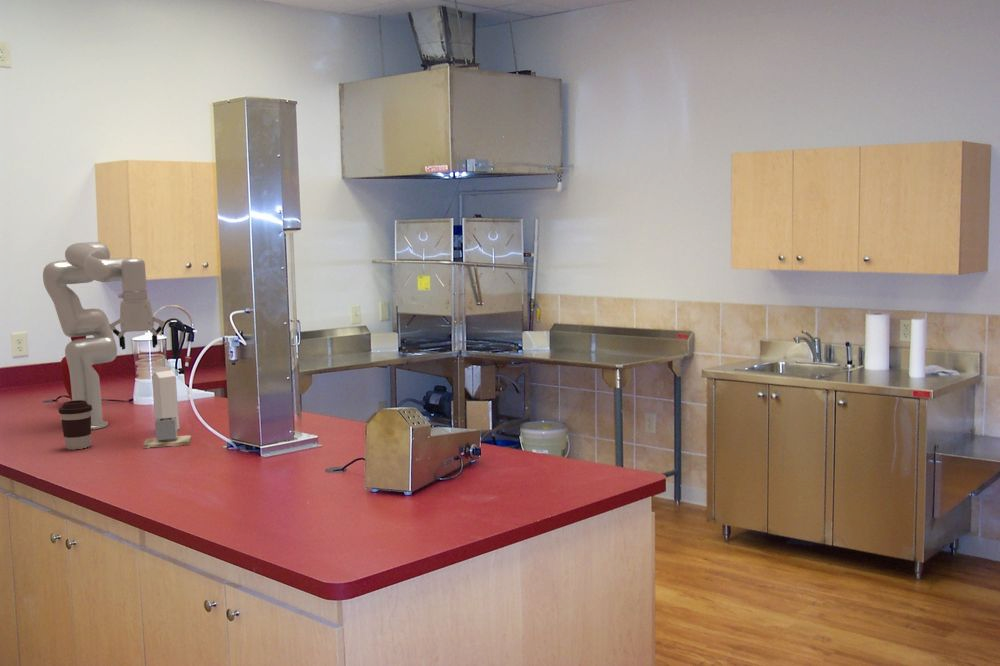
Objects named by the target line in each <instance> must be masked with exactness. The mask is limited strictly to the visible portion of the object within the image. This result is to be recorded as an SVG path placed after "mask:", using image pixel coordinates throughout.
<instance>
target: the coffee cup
mask: <svg viewBox="0 0 1000 666" xmlns="http://www.w3.org/2000/svg"><path fill="white" fill-rule="evenodd" d="M91 410H92V405H89V404H87V402H86V401H84V400H75V401H71V400H69V401H65V402H63V403H62V405H61V406H60V407H58V414H60V423H61V422H62V423H61V427H62V433H63V437H64V442H65V448H66V449H67V450H69V451H70V450H71V451H76V449H79V450H84V449H83V448H85V449H87V447H88V448H90V447H89V446H91V435H92V430H91V416H90V411H91ZM61 418H62V419H61Z"/></svg>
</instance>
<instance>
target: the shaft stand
mask: <svg viewBox="0 0 1000 666" xmlns="http://www.w3.org/2000/svg"><path fill="white" fill-rule="evenodd" d="M164 420H170V419H163V421H164ZM191 441H192V434H190V435H177V437H176V439H166V440H156V437H151V438H146V439H145V441H144V443H143V449H144V448H147V449H151V448H150V447H159V448H166V447H165V446H172V447H181V446H183V445H184V446H190V445H191Z"/></svg>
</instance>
